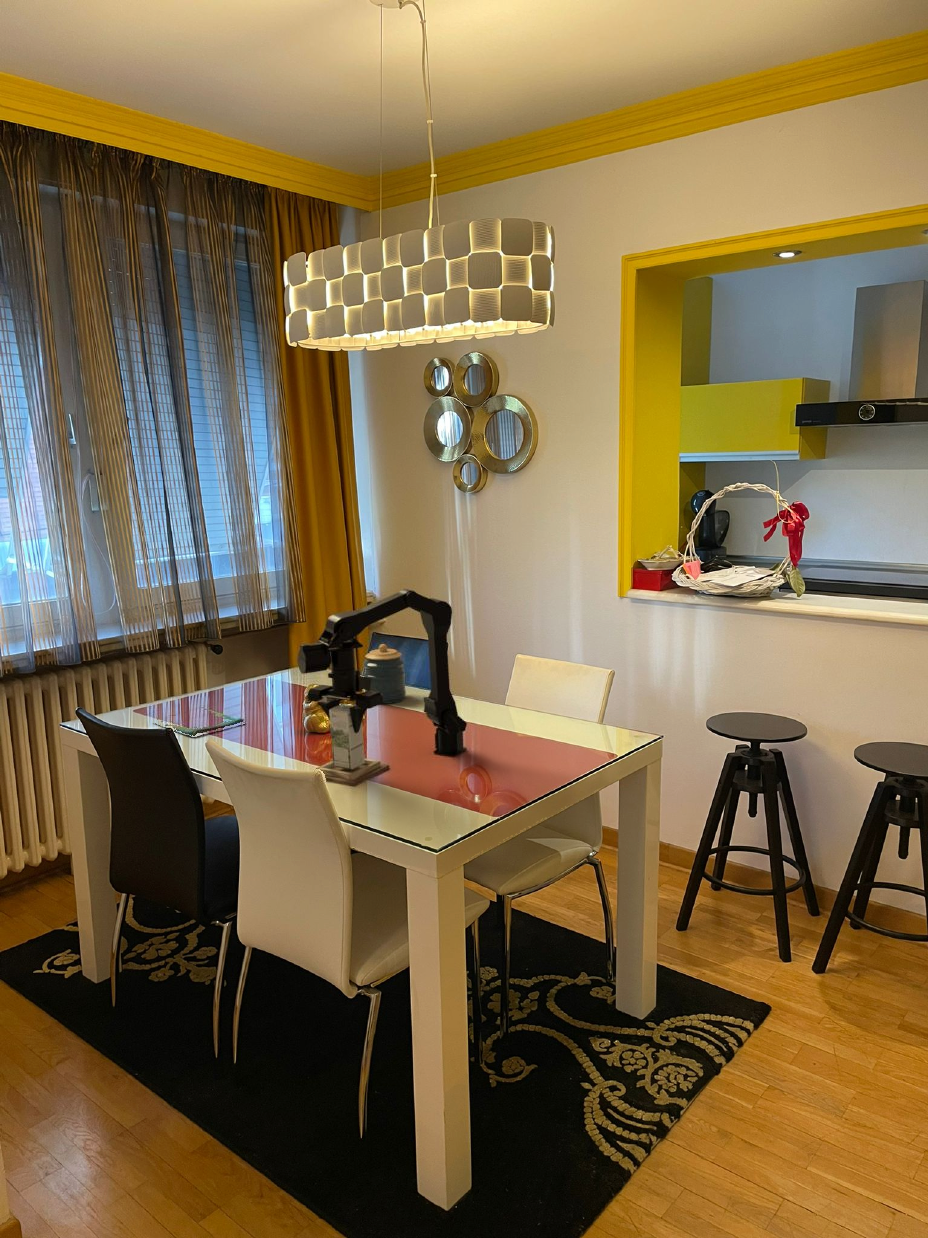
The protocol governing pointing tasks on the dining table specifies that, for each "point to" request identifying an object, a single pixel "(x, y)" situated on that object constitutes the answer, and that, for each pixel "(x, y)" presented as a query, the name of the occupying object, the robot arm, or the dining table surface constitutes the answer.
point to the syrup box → (345, 739)
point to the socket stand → (352, 772)
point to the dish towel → (205, 729)
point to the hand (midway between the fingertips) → (346, 731)
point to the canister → (386, 673)
